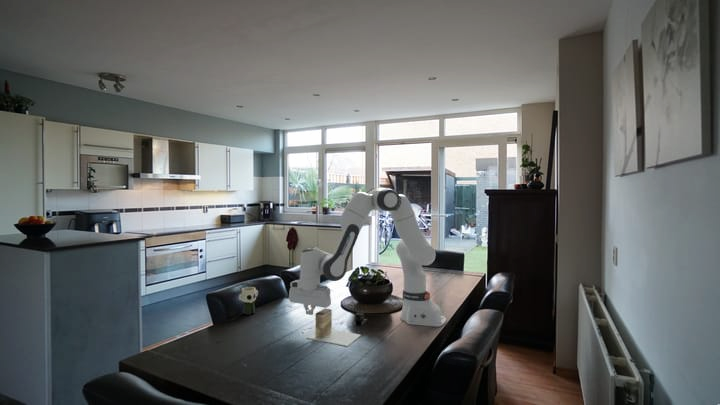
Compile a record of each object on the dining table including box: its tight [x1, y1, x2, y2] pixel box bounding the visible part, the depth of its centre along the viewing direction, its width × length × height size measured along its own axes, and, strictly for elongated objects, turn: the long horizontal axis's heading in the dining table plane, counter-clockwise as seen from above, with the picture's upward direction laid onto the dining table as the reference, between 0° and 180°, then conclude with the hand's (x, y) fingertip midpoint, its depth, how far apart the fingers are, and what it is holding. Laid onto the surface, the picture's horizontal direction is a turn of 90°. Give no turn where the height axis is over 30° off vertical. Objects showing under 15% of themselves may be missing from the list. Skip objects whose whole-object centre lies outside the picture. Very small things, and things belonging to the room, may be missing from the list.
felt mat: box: [306, 329, 362, 347], centre depth 163 cm, size 20×13×1 cm, turn 65°
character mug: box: [238, 286, 259, 315], centre depth 194 cm, size 11×7×13 cm, turn 140°
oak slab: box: [314, 308, 333, 338], centre depth 165 cm, size 4×8×10 cm, turn 155°
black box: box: [351, 311, 368, 327], centre depth 183 cm, size 12×7×5 cm, turn 161°
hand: (309, 314), depth 168 cm, fingers closed
